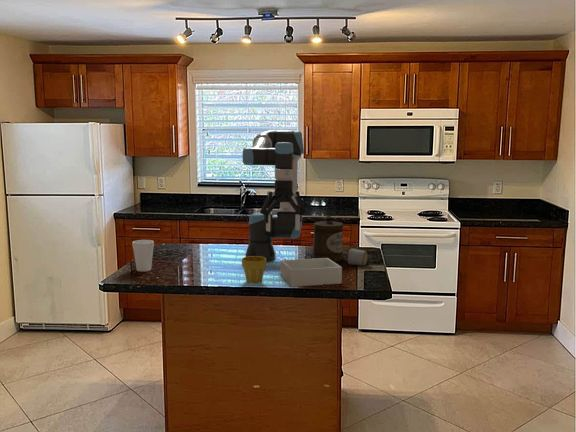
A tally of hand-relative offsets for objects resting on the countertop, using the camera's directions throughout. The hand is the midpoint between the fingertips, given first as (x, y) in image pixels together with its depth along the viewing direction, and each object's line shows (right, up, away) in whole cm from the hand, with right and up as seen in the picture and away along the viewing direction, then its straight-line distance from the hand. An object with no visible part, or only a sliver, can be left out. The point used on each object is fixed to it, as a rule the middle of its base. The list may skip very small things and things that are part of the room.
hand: (283, 230), depth 227 cm
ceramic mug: (+36, -18, +36) cm, 54 cm away
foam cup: (-64, -19, +20) cm, 69 cm away
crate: (+12, -21, +6) cm, 25 cm away
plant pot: (-12, -22, +3) cm, 25 cm away
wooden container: (+22, -16, +47) cm, 54 cm away
